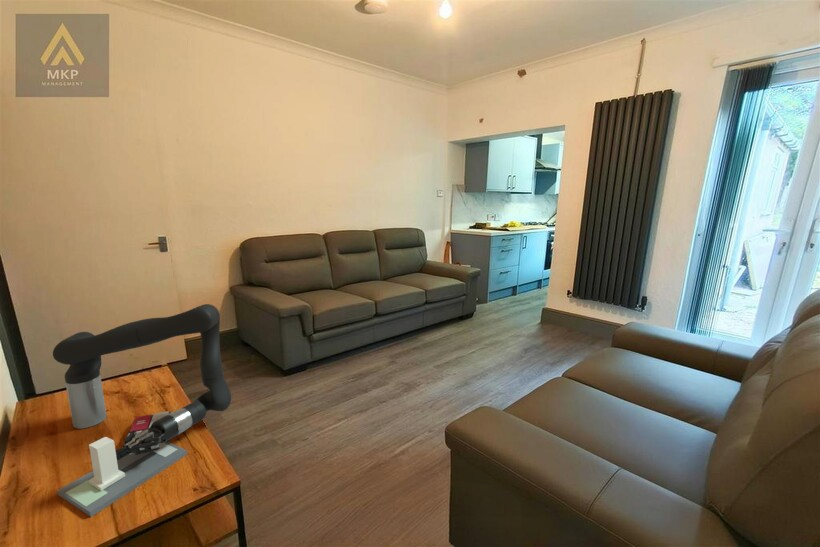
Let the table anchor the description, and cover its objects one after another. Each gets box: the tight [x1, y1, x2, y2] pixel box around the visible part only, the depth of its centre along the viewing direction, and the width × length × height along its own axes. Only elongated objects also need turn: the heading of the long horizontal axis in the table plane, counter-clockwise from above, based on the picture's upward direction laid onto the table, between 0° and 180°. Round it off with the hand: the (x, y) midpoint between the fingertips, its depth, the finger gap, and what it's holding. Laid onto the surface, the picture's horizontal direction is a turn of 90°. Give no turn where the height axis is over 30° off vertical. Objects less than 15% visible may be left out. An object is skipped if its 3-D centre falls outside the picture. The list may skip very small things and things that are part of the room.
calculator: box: [125, 410, 172, 439], centre depth 126 cm, size 11×4×15 cm
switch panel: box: [56, 440, 188, 518], centre depth 108 cm, size 16×26×2 cm, turn 156°
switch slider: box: [88, 436, 125, 491], centre depth 102 cm, size 6×6×12 cm
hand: (112, 457), depth 104 cm, fingers closed
